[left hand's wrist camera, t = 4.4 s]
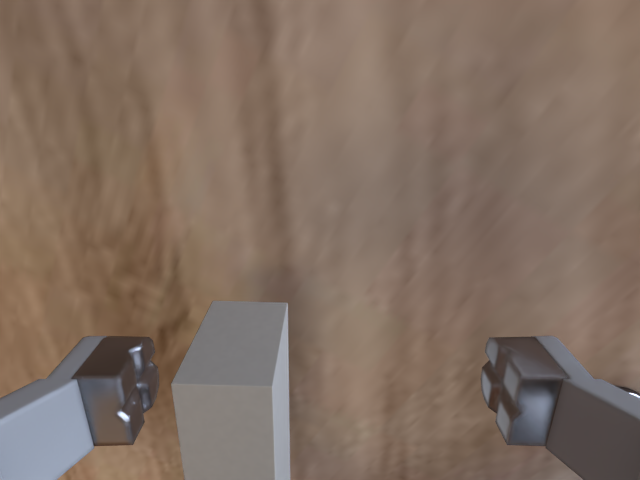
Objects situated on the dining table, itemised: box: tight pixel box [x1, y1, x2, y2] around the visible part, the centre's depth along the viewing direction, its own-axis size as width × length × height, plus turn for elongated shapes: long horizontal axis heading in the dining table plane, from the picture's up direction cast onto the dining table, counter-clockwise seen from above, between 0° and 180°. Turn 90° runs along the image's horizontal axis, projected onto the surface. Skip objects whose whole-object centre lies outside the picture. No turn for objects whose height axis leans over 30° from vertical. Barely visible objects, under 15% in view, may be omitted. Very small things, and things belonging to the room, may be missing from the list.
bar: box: [171, 301, 290, 480], centre depth 32 cm, size 24×6×9 cm, turn 179°
